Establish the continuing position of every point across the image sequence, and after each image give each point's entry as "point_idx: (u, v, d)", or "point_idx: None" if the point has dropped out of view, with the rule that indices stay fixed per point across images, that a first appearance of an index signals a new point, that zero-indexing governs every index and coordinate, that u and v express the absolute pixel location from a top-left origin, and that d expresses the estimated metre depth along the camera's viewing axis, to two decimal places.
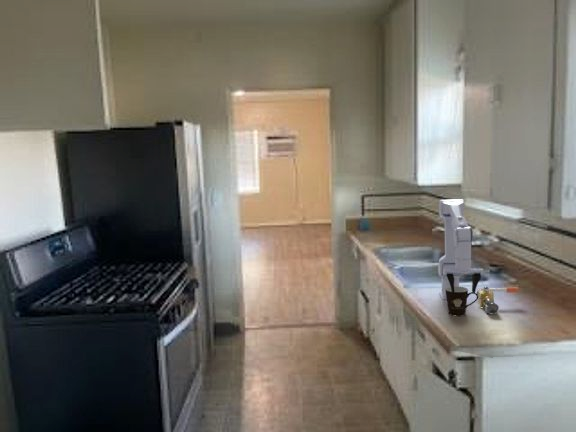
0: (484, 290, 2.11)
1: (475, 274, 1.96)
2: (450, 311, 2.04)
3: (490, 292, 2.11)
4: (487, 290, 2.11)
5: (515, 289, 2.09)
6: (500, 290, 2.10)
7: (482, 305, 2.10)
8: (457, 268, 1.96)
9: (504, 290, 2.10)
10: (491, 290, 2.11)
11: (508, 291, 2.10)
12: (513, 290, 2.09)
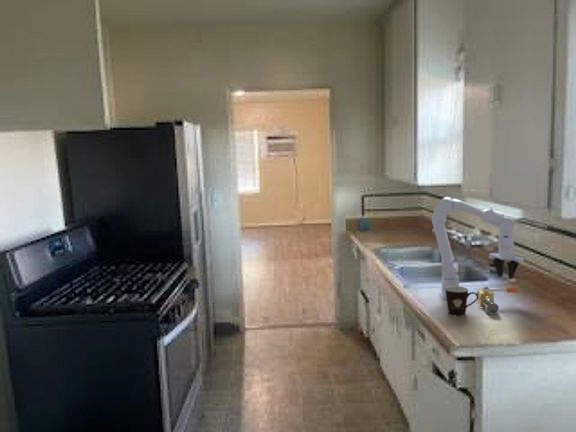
0: (484, 290, 2.11)
1: (511, 261, 2.13)
2: (450, 311, 2.04)
3: (490, 292, 2.11)
4: (487, 290, 2.11)
5: (515, 289, 2.09)
6: (500, 290, 2.10)
7: (482, 305, 2.10)
8: None
9: (504, 290, 2.10)
10: (491, 290, 2.11)
11: (508, 291, 2.10)
12: (513, 290, 2.09)
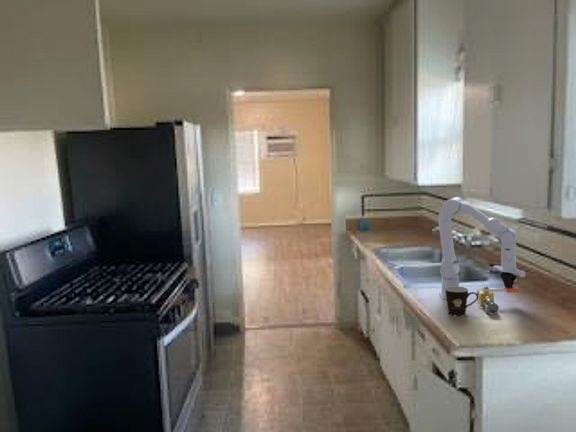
0: (484, 290, 2.11)
1: (508, 273, 2.11)
2: (450, 311, 2.04)
3: (490, 292, 2.11)
4: (487, 290, 2.11)
5: (515, 289, 2.09)
6: (500, 290, 2.10)
7: (482, 305, 2.10)
8: (501, 266, 2.13)
9: (504, 290, 2.10)
10: (491, 290, 2.11)
11: (508, 291, 2.09)
12: (513, 290, 2.09)
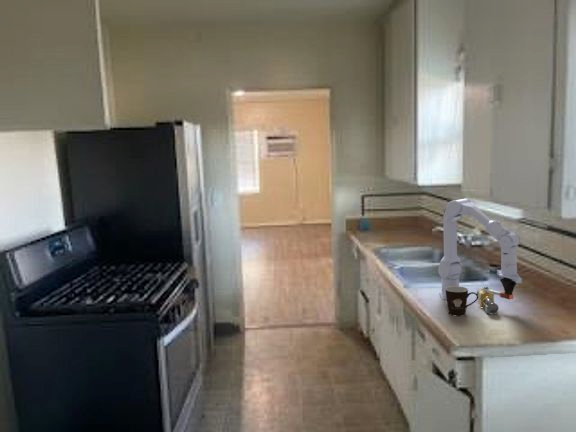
0: None
1: (507, 278, 2.04)
2: (450, 311, 2.04)
3: None
4: (484, 290, 2.11)
5: (506, 295, 2.01)
6: (495, 293, 2.07)
7: (482, 305, 2.10)
8: None
9: (498, 294, 2.05)
10: (488, 291, 2.10)
11: (501, 296, 2.04)
12: (505, 296, 2.02)
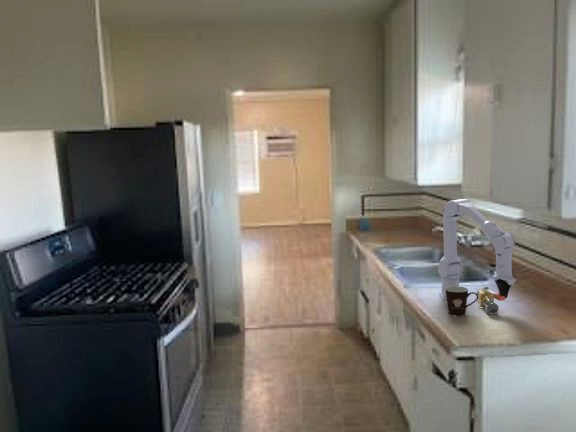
0: None
1: (502, 280, 2.02)
2: (450, 311, 2.04)
3: None
4: (483, 290, 2.11)
5: (497, 296, 2.01)
6: (491, 293, 2.06)
7: (482, 305, 2.10)
8: None
9: (493, 295, 2.05)
10: (486, 291, 2.10)
11: (494, 296, 2.03)
12: (496, 297, 2.01)
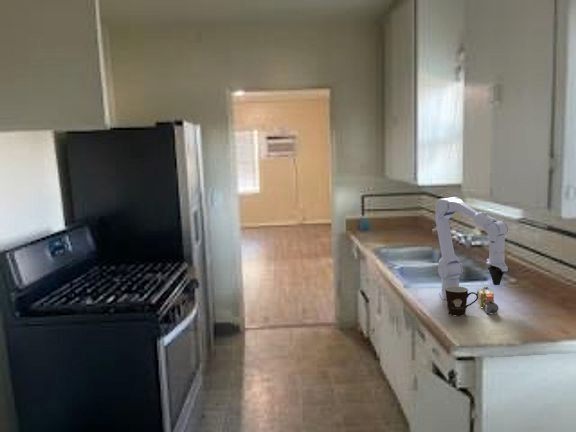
0: None
1: (495, 267, 2.05)
2: (450, 311, 2.04)
3: (490, 292, 2.11)
4: None
5: (486, 296, 2.01)
6: (485, 293, 2.07)
7: (482, 305, 2.10)
8: None
9: None
10: (484, 291, 2.10)
11: None
12: (486, 297, 2.02)
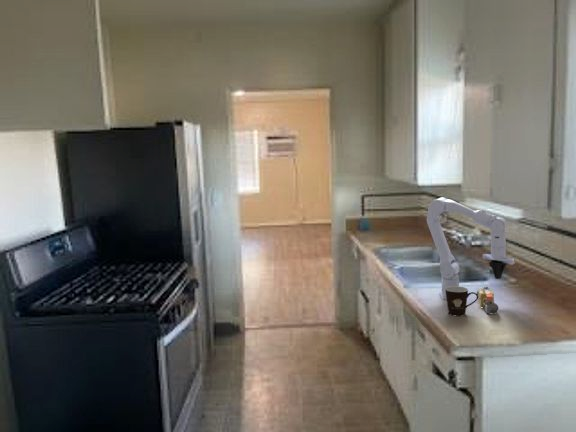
0: None
1: (498, 261, 2.13)
2: (450, 311, 2.04)
3: (490, 292, 2.11)
4: None
5: (486, 296, 2.01)
6: (485, 293, 2.07)
7: (482, 305, 2.10)
8: None
9: None
10: (484, 291, 2.10)
11: None
12: (486, 297, 2.02)
